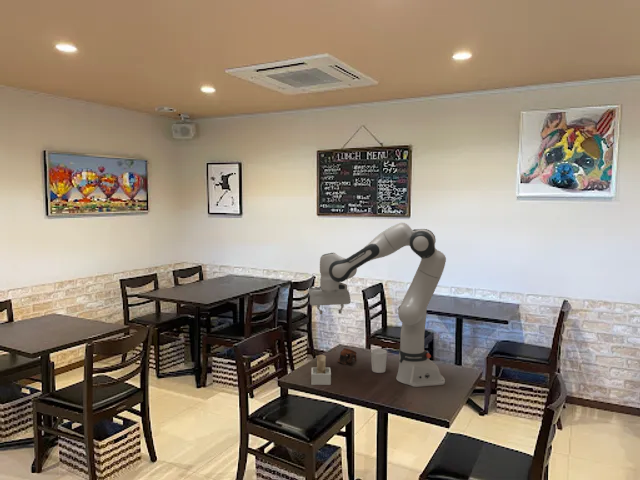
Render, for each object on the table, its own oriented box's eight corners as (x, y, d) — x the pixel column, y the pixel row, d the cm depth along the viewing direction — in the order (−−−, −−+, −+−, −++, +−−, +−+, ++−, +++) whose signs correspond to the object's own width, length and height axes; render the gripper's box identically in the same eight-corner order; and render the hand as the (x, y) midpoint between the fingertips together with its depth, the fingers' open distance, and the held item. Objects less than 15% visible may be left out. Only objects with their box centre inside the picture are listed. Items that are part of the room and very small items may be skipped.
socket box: (330, 377, 227) (330, 367, 227) (330, 384, 219) (330, 374, 218) (311, 377, 227) (311, 367, 227) (311, 384, 218) (311, 374, 218)
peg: (325, 379, 225) (325, 354, 224) (325, 382, 221) (325, 357, 220) (316, 379, 225) (316, 354, 224) (316, 382, 221) (317, 357, 220)
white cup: (386, 374, 233) (386, 354, 232) (370, 372, 234) (370, 353, 233) (387, 368, 240) (387, 349, 239) (371, 367, 242) (371, 348, 241)
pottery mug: (334, 361, 252) (339, 346, 255) (349, 368, 255) (354, 353, 257) (343, 362, 241) (348, 347, 244) (359, 369, 244) (364, 354, 246)
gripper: (308, 287, 231) (309, 315, 231) (350, 285, 231) (351, 314, 231) (308, 286, 237) (309, 313, 237) (349, 284, 237) (350, 311, 237)
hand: (330, 313), depth 234 cm, fingers open, 8 cm apart
